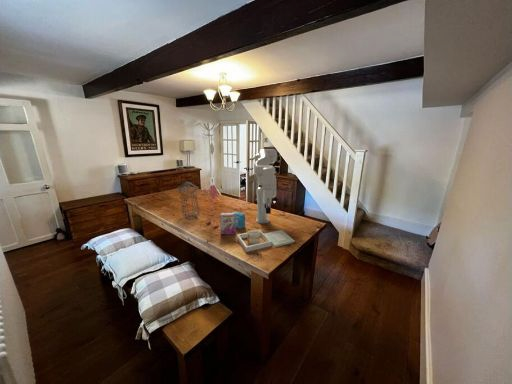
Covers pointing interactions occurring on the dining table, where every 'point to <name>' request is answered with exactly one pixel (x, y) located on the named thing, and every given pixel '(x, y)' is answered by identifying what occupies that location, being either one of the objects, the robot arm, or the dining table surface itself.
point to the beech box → (253, 237)
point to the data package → (239, 220)
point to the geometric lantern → (189, 197)
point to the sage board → (279, 238)
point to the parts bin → (256, 246)
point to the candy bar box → (227, 223)
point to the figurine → (213, 193)
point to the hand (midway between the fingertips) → (267, 210)
